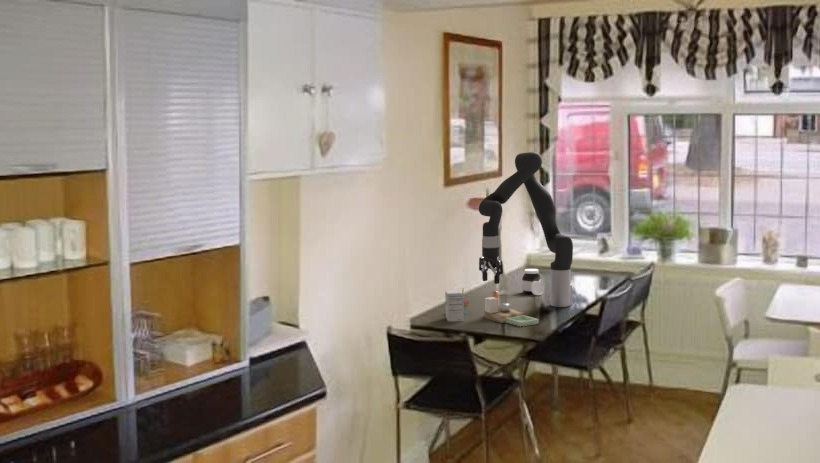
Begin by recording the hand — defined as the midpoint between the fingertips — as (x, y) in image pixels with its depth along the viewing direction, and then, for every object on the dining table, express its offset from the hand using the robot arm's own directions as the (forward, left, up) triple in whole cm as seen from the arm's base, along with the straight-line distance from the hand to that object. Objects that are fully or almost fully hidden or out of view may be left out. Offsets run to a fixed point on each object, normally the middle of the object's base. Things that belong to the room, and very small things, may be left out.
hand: (490, 282), depth 432 cm
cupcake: (+5, -17, -16) cm, 24 cm away
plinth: (-5, +4, -16) cm, 17 cm away
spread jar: (-50, -31, -16) cm, 61 cm away
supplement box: (+14, -8, -16) cm, 23 cm away
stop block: (0, 0, -13) cm, 13 cm away
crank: (-5, 0, -13) cm, 14 cm away
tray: (-5, +16, -16) cm, 23 cm away
